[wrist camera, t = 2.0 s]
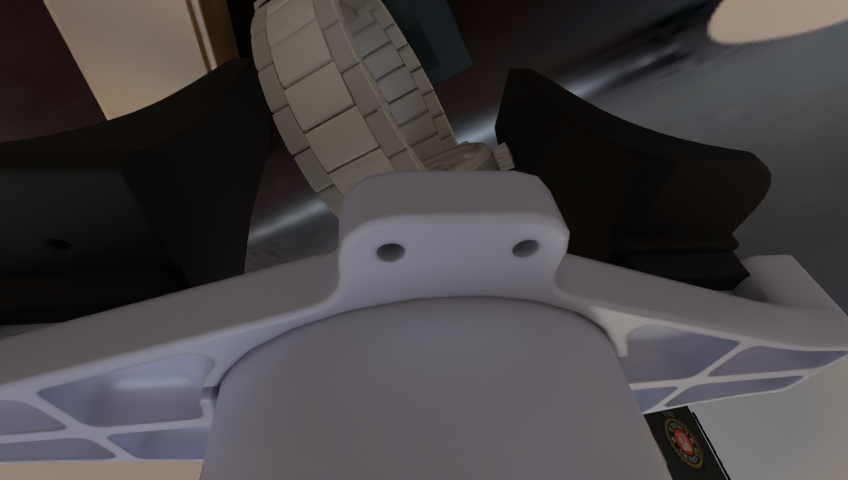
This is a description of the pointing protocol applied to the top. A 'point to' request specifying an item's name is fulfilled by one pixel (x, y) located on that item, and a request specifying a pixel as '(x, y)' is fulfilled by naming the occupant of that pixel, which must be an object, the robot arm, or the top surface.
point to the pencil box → (143, 46)
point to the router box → (684, 445)
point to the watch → (364, 88)
